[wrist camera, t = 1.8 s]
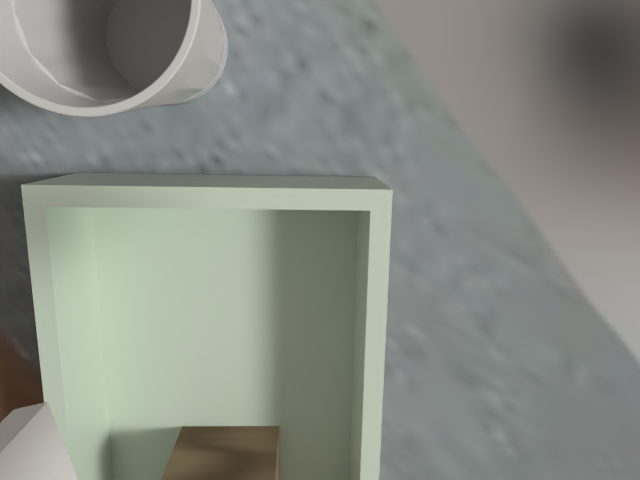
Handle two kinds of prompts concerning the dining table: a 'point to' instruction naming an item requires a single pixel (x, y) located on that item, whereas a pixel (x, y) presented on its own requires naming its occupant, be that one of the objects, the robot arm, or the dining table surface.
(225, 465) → the walnut block
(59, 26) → the cup
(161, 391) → the tote
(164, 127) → the dining table surface
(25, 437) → the robot arm
